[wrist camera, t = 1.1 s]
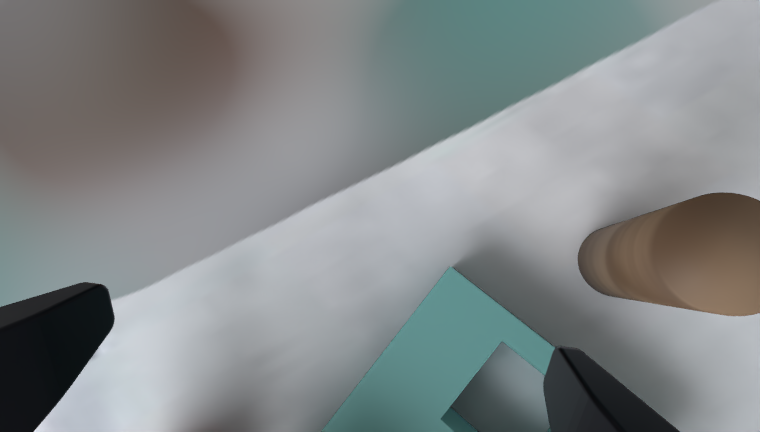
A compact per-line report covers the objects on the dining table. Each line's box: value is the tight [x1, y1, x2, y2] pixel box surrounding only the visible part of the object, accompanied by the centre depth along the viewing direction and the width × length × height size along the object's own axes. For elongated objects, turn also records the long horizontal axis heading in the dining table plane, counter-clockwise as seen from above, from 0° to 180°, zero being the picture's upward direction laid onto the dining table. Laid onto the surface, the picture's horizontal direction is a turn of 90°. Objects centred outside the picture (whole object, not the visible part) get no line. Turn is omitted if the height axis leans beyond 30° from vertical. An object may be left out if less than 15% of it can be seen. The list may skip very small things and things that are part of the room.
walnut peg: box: [578, 193, 760, 316], centre depth 18 cm, size 4×4×10 cm
